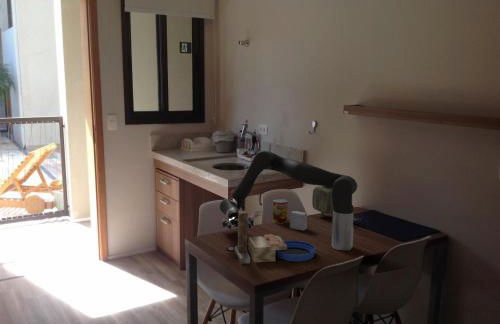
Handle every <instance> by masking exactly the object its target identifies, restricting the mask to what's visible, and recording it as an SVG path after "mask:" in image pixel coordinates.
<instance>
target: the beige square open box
mask: <svg viewBox="0 0 500 324" xmlns="http://www.w3.org/2000/svg"><path fill="white" fill-rule="evenodd" d="M274 236H275V237H278V239H279V240H280V242H279V243H280V246H270V245H269V239H268V240H266V239H265V237H264V235H263V236H262V235H261V236H260V235H259V236H248V244H247V252H248V254H249V256H250V258H251V259H252V260H253V262H254V263H268V262H270V263H271V262H276V254H275V253H276V250H280V251H282V250H286V249H287V245H286V244H285V243H284V241H285V240H283V238H281V236H280V235H274Z"/></svg>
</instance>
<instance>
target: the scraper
mask: <svg viewBox="0 0 500 324" xmlns="http://www.w3.org/2000/svg"><path fill="white" fill-rule="evenodd" d="M248 214H249V213H248V211H247V210H240V211H238V227H237V245H235V246H234V251H235V254H236V256H237V258H238V259H237V260H238V262H239V264H245V265H246V264H251V255H250V253H249V251H248V218H249V217H248V216H249V215H248Z"/></svg>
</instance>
